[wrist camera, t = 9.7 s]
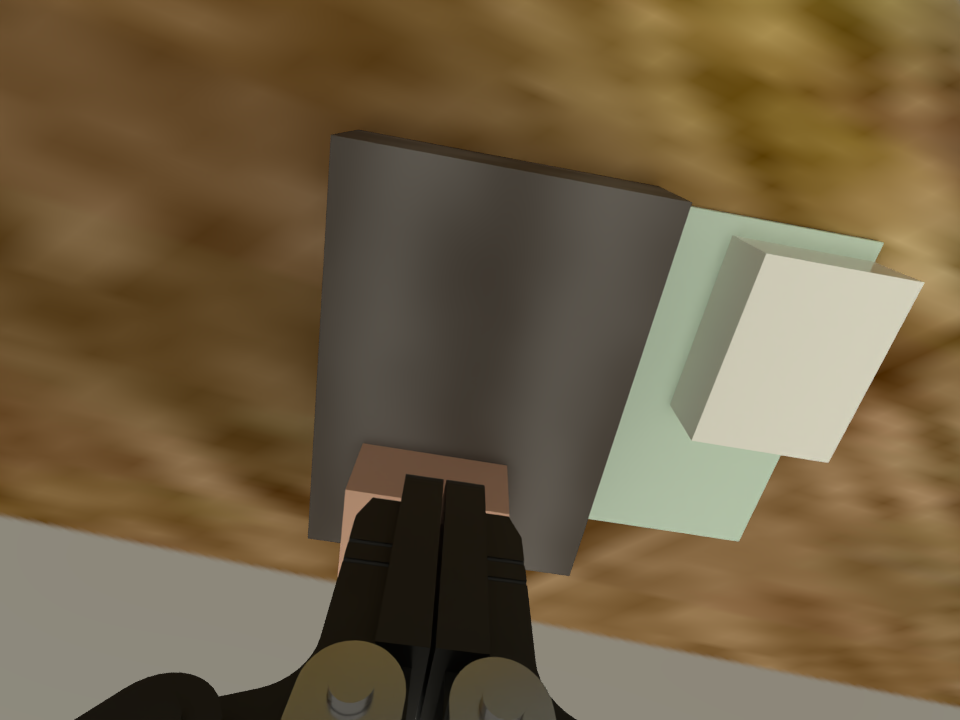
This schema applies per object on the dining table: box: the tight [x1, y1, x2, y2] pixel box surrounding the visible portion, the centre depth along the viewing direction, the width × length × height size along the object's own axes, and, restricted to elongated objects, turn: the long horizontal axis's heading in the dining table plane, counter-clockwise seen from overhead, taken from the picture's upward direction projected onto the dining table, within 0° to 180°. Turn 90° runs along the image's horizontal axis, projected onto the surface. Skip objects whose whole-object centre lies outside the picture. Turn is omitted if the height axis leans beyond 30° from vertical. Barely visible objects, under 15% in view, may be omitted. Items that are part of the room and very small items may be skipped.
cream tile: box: [670, 236, 924, 463], centre depth 23 cm, size 6×8×3 cm
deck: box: [308, 130, 692, 576], centre depth 23 cm, size 12×17×4 cm
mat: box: [588, 206, 884, 541], centre depth 26 cm, size 9×16×1 cm, turn 170°
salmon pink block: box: [338, 443, 509, 575], centre depth 22 cm, size 6×5×3 cm
